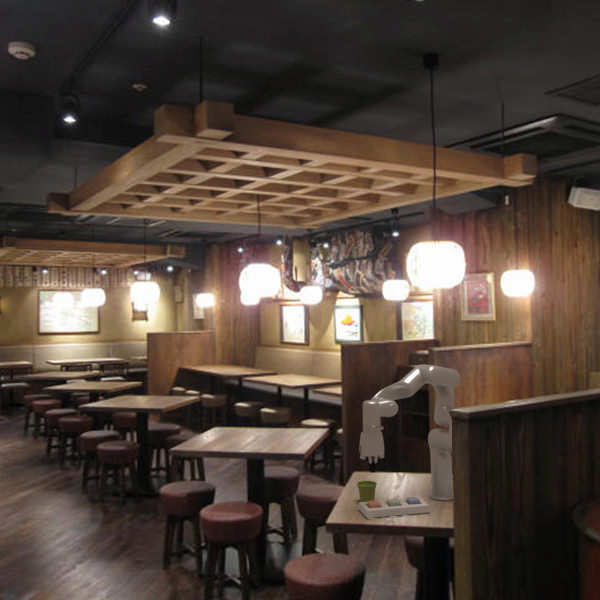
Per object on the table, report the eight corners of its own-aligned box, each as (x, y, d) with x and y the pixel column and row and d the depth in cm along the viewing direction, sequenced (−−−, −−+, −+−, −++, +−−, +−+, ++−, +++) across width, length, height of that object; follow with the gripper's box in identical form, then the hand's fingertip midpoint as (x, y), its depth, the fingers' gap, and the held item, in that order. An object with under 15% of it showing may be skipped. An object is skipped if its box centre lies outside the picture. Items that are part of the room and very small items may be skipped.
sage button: (396, 505, 263) (396, 498, 263) (400, 508, 258) (400, 501, 258) (387, 506, 262) (387, 499, 262) (390, 509, 257) (390, 502, 257)
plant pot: (352, 503, 274) (352, 483, 274) (364, 497, 281) (363, 479, 281) (370, 506, 268) (369, 487, 268) (381, 501, 275) (380, 482, 275)
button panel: (418, 504, 269) (418, 497, 269) (429, 513, 257) (429, 505, 257) (358, 510, 263) (358, 502, 263) (367, 519, 251) (367, 511, 251)
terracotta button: (377, 507, 261) (377, 500, 261) (380, 510, 256) (380, 503, 257) (367, 507, 260) (367, 500, 260) (370, 511, 256) (370, 504, 256)
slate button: (416, 503, 264) (415, 496, 264) (419, 506, 260) (419, 499, 260) (406, 504, 263) (406, 497, 264) (410, 507, 259) (410, 500, 259)
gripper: (385, 427, 264) (385, 468, 264) (352, 428, 261) (353, 471, 261) (391, 430, 257) (391, 473, 256) (357, 431, 254) (358, 475, 253)
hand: (372, 471), depth 258 cm, fingers closed
